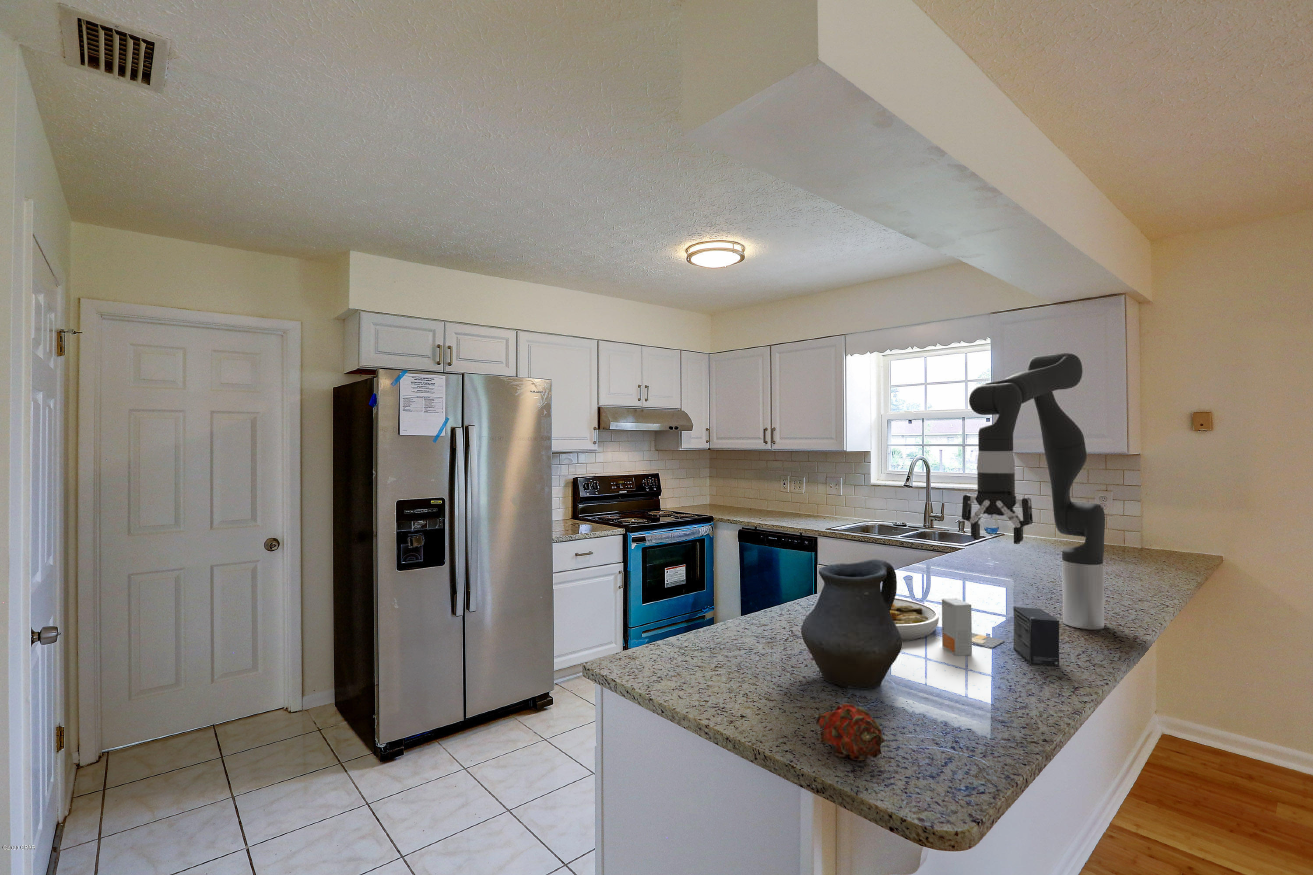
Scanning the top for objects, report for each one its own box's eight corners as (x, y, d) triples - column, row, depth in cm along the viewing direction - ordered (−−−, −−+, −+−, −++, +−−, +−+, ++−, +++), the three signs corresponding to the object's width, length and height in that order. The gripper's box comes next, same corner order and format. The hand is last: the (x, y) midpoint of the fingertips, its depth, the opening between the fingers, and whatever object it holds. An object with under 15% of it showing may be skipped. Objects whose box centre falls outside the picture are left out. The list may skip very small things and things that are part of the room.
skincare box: (941, 647, 150) (940, 598, 150) (958, 646, 150) (957, 597, 150) (955, 656, 144) (955, 604, 144) (973, 655, 144) (972, 604, 144)
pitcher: (782, 671, 135) (781, 558, 135) (859, 656, 143) (858, 550, 144) (845, 708, 116) (844, 576, 116) (930, 689, 125) (929, 566, 125)
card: (963, 632, 161) (963, 630, 161) (1005, 641, 153) (1005, 639, 153) (950, 638, 156) (950, 637, 156) (992, 648, 148) (992, 647, 148)
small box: (1062, 667, 136) (1061, 619, 136) (1029, 665, 137) (1029, 618, 137) (1042, 651, 146) (1041, 607, 146) (1012, 649, 148) (1011, 605, 148)
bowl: (946, 621, 172) (945, 593, 172) (929, 652, 147) (928, 620, 147) (839, 606, 188) (838, 580, 188) (806, 632, 163) (806, 603, 163)
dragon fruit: (884, 783, 93) (820, 763, 103) (904, 735, 98) (841, 720, 108) (858, 746, 91) (795, 729, 101) (880, 699, 96) (818, 687, 105)
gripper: (1036, 471, 138) (1036, 543, 138) (969, 469, 148) (970, 536, 148) (1025, 472, 133) (1025, 547, 133) (956, 470, 143) (957, 539, 143)
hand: (996, 541), depth 140 cm, fingers open, 8 cm apart
